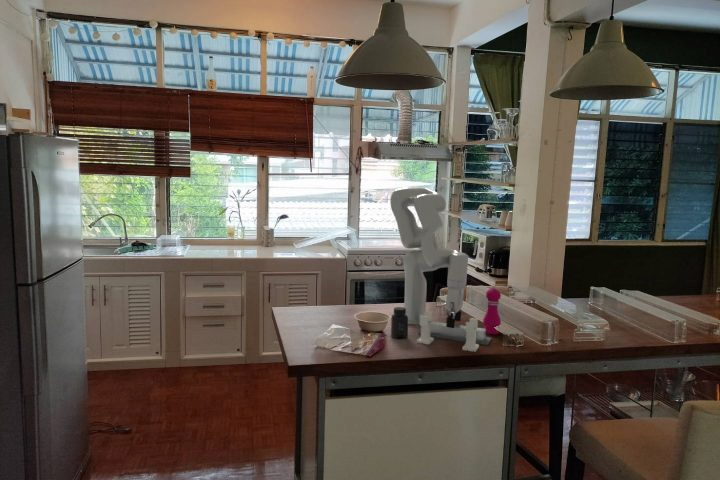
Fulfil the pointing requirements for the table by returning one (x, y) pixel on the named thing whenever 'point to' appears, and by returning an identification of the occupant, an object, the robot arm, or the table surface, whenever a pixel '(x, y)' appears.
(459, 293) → the robot arm
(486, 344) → the mat
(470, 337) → the post right
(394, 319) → the supplement bottle
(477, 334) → the rail
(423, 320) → the post left
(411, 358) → the table surface
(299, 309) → the table surface
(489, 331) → the pepper mill
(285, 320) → the table surface
